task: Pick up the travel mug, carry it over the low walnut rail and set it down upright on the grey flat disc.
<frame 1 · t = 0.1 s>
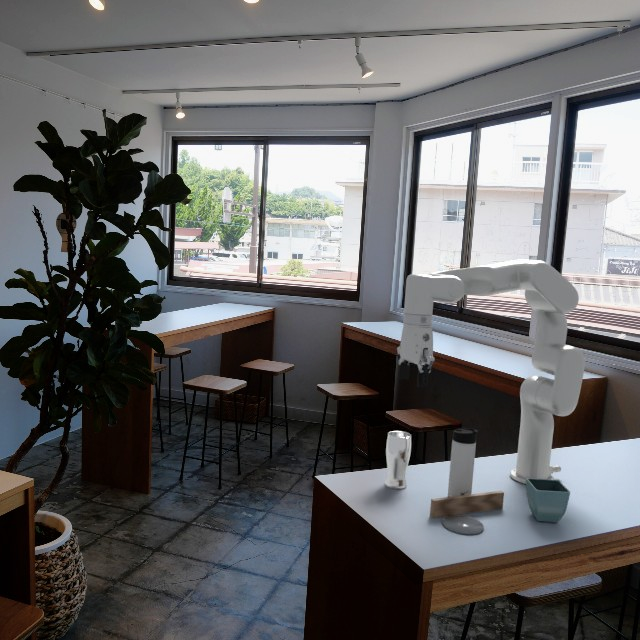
hand: (412, 383, 170), 31 cm above the table, fingers open, 9 cm apart
rail: (467, 512, 163), on the table
travel mug: (459, 500, 171), on the table
beer glass: (395, 485, 179), on the table
flower pot: (544, 518, 162), on the table
grey flat disc: (462, 525, 155), on the table
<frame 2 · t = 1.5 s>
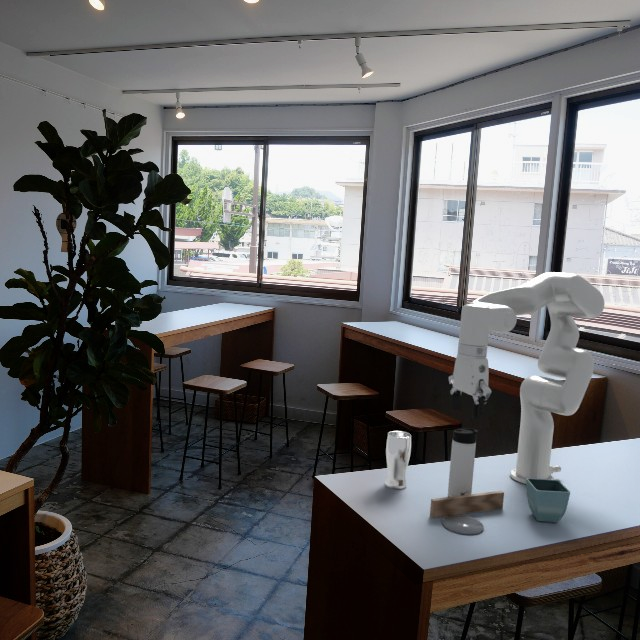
hand: (466, 413, 168), 24 cm above the table, fingers open, 9 cm apart
nothing on the table moved.
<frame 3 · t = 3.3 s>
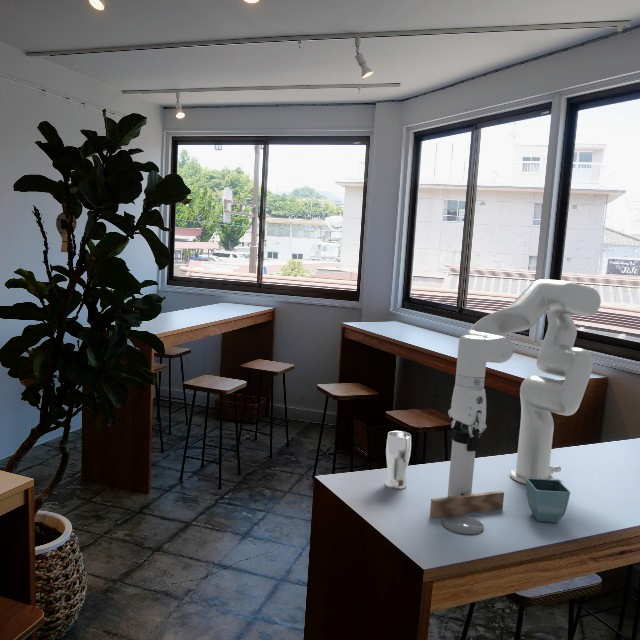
hand: (464, 446, 169), 15 cm above the table, fingers closed on travel mug, 6 cm apart
travel mug: (459, 500, 171), on the table, touching gripper
everything else where it was.
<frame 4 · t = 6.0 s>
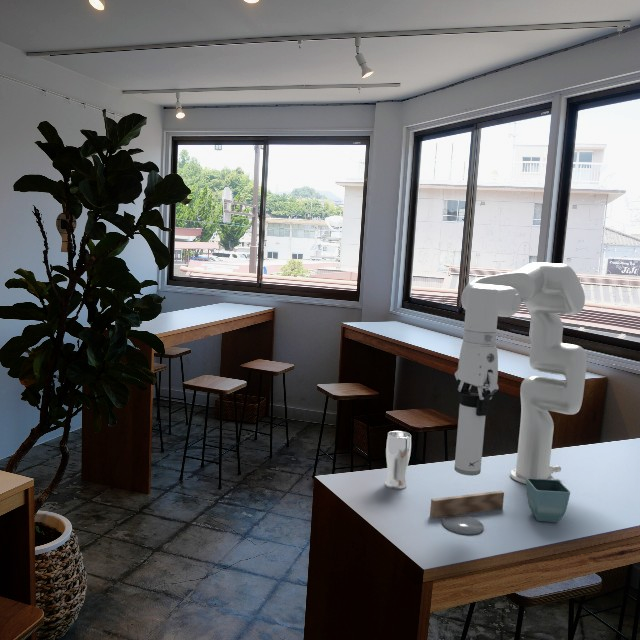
hand: (473, 410, 152), 29 cm above the table, fingers closed on travel mug, 6 cm apart
travel mug: (467, 472, 153), point 14 cm above the table, touching gripper
everything else where it was.
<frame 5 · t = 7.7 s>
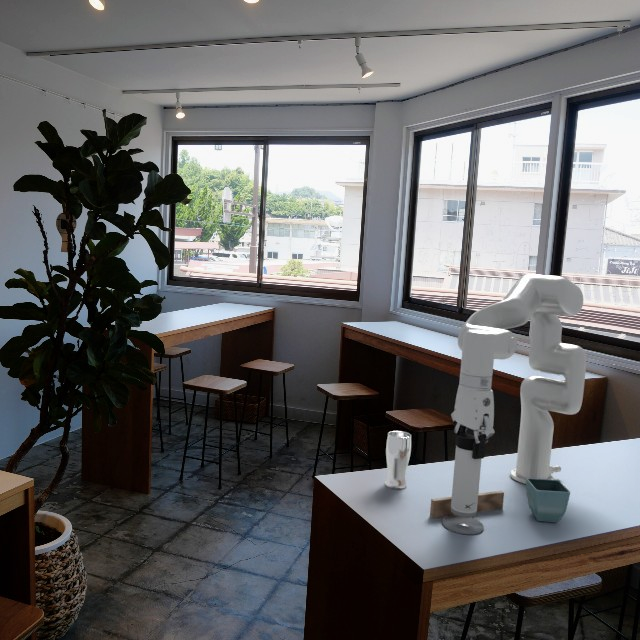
hand: (469, 452, 153), 19 cm above the table, fingers closed on travel mug, 6 cm apart
travel mug: (464, 513, 154), point 3 cm above the table, touching gripper
everything else where it was.
when the fingers open (17 cm above the table, at t = 9.1 s): travel mug drops 1 cm, resting on grey flat disc.
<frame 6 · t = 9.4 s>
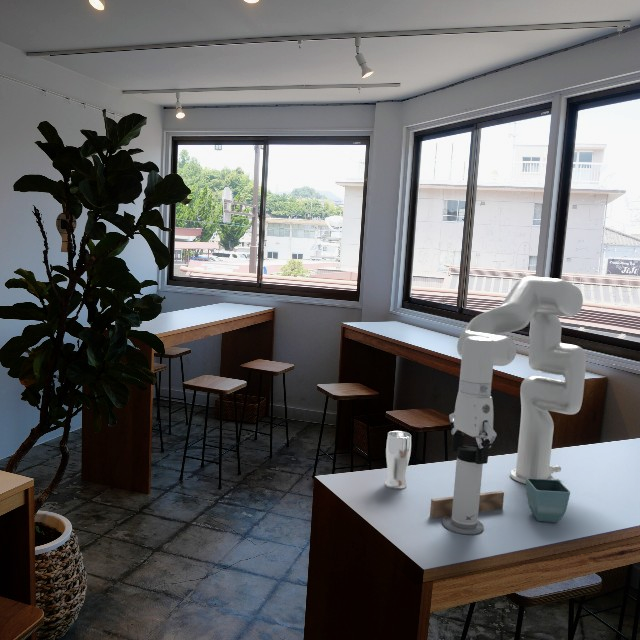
hand: (468, 456, 153), 18 cm above the table, fingers open, 9 cm apart
travel mug: (464, 524, 155), resting on grey flat disc
everything else where it was.
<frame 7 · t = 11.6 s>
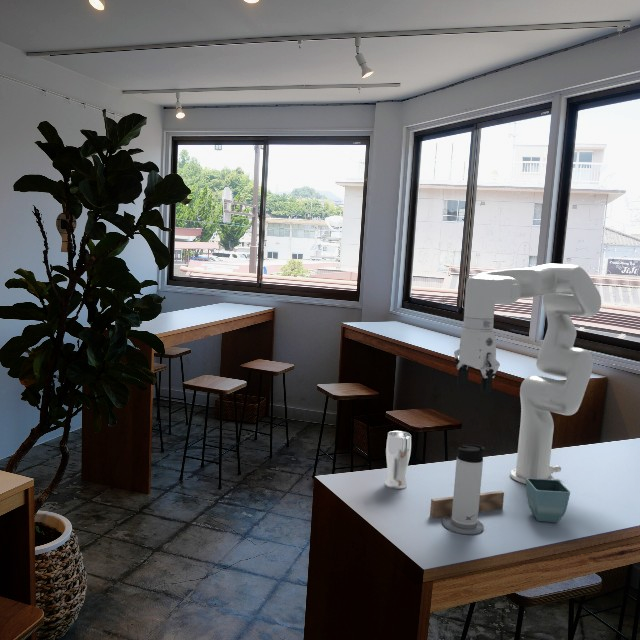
hand: (473, 388, 166), 32 cm above the table, fingers open, 9 cm apart
nothing on the table moved.
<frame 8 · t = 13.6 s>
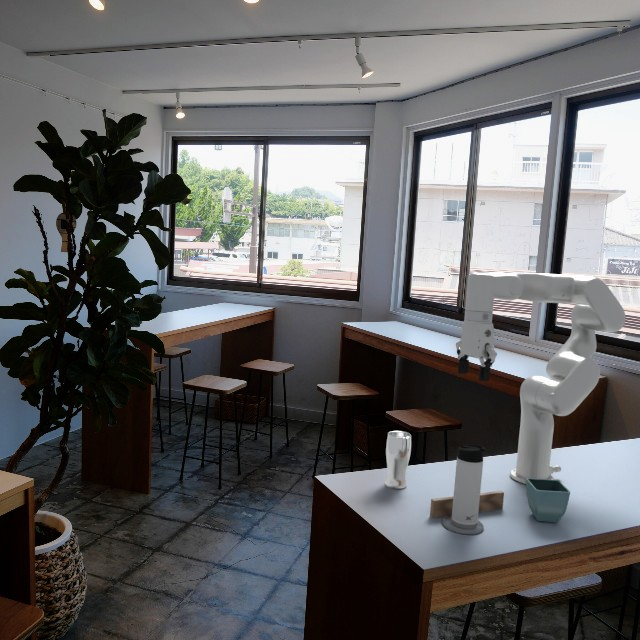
hand: (473, 376, 177), 32 cm above the table, fingers open, 9 cm apart
nothing on the table moved.
at the end: travel mug 0.4 cm from the grey flat disc (horizontally); travel mug tilted 0°; the gripper is holding nothing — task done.
